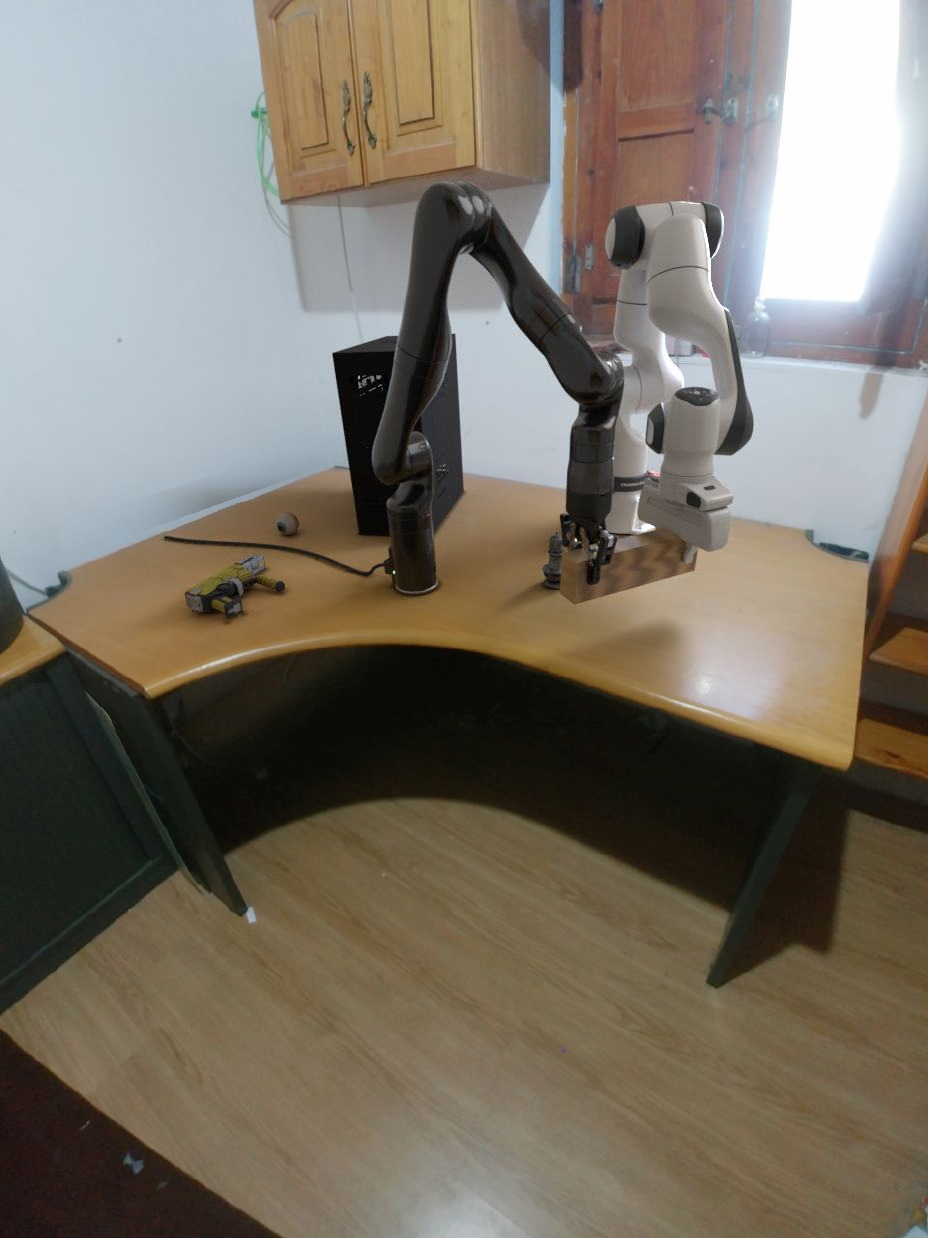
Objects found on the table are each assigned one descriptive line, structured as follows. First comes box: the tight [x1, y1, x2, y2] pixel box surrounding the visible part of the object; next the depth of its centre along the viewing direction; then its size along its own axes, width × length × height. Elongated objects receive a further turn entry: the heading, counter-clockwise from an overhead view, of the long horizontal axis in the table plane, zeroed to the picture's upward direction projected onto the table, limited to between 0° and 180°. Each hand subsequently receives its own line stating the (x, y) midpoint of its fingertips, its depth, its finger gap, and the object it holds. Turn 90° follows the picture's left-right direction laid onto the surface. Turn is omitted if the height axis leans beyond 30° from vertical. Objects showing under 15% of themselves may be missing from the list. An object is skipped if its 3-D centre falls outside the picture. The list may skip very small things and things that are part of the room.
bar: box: [559, 528, 699, 605], centre depth 111 cm, size 27×5×8 cm, turn 115°
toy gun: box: [184, 552, 286, 620], centre depth 134 cm, size 5×24×15 cm
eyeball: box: [275, 511, 300, 536], centre depth 163 cm, size 6×6×6 cm
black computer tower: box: [331, 333, 465, 536], centre depth 165 cm, size 38×20×45 cm, turn 167°
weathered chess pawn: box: [541, 530, 566, 589], centre depth 128 cm, size 6×6×12 cm
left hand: (584, 577), depth 107 cm, fingers closed on bar, 4 cm apart
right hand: (674, 556), depth 115 cm, fingers closed on bar, 5 cm apart
